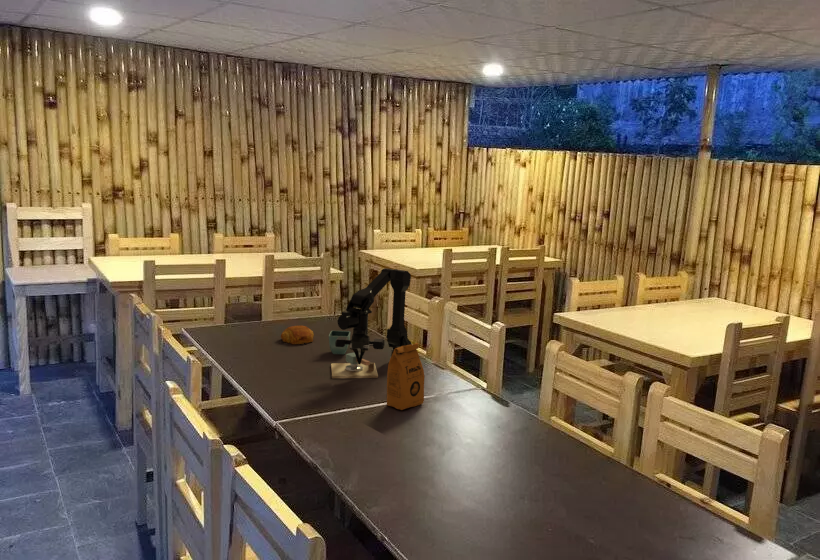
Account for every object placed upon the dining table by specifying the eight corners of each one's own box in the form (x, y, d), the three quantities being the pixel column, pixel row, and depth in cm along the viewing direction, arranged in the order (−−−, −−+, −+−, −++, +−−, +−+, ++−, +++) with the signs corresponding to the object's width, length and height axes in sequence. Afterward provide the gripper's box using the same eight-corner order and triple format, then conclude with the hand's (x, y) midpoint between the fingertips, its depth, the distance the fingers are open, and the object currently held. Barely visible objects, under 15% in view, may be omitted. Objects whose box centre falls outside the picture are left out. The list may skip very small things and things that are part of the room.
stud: (362, 366, 270) (362, 359, 269) (363, 371, 263) (363, 364, 262) (345, 366, 269) (345, 359, 268) (345, 372, 262) (345, 364, 261)
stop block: (369, 369, 266) (369, 362, 266) (374, 369, 266) (374, 362, 265) (368, 370, 264) (368, 363, 264) (373, 371, 264) (373, 364, 263)
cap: (345, 361, 266) (345, 353, 265) (355, 359, 269) (355, 351, 268) (363, 368, 257) (363, 360, 257) (372, 366, 260) (372, 358, 260)
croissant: (279, 342, 312) (276, 326, 310) (311, 335, 318) (308, 319, 316) (286, 350, 299) (283, 333, 297) (319, 342, 305) (317, 326, 303)
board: (374, 365, 275) (374, 362, 275) (378, 377, 260) (378, 375, 259) (331, 365, 273) (331, 363, 272) (332, 378, 257) (332, 376, 257)
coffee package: (428, 405, 232) (430, 345, 228) (400, 413, 224) (402, 351, 220) (409, 397, 239) (411, 339, 235) (382, 405, 231) (384, 344, 227)
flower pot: (348, 356, 286) (348, 336, 285) (328, 355, 286) (328, 335, 285) (350, 350, 295) (350, 331, 293) (331, 349, 295) (331, 330, 293)
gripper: (333, 329, 249) (332, 368, 252) (382, 331, 248) (380, 371, 251) (338, 322, 260) (337, 360, 263) (385, 325, 259) (383, 363, 262)
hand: (359, 364), depth 259 cm, fingers closed
